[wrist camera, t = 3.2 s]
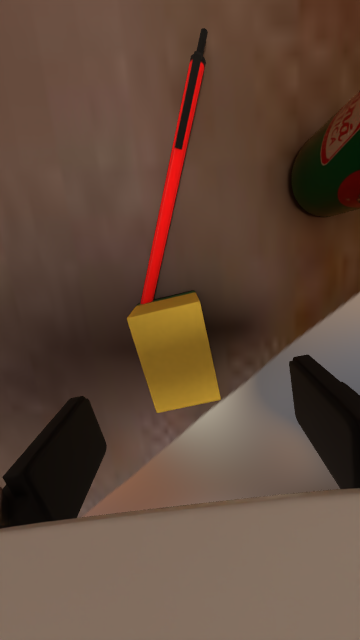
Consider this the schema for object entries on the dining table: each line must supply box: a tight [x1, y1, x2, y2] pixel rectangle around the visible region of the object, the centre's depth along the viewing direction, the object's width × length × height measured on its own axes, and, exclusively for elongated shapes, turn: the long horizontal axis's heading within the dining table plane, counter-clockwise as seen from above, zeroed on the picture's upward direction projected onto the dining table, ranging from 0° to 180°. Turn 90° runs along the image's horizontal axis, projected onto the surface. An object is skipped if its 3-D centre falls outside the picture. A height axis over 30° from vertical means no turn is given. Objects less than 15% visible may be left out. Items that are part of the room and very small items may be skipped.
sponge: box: [127, 291, 221, 413], centre depth 16 cm, size 4×7×4 cm, turn 13°
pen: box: [140, 28, 207, 304], centre depth 15 cm, size 1×19×1 cm, turn 166°
